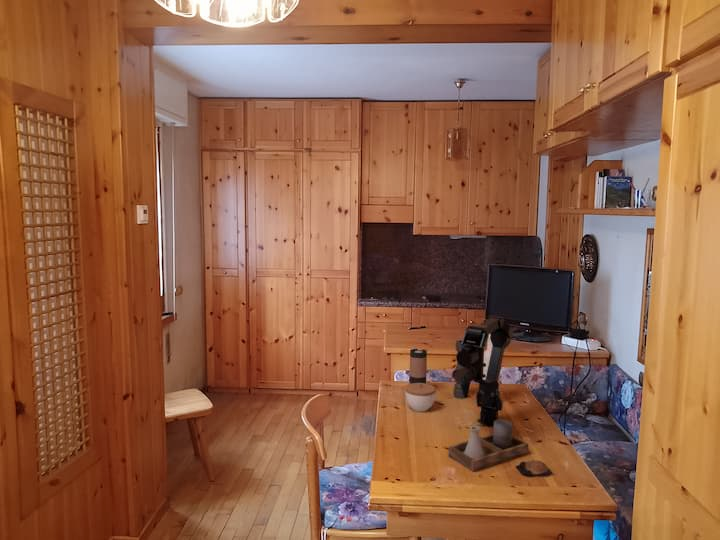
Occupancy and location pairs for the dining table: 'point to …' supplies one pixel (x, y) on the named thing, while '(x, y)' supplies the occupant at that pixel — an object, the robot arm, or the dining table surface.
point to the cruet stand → (492, 448)
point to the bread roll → (534, 469)
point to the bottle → (488, 357)
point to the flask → (474, 444)
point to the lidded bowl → (420, 396)
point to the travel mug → (418, 366)
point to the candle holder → (457, 389)
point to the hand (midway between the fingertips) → (474, 401)
